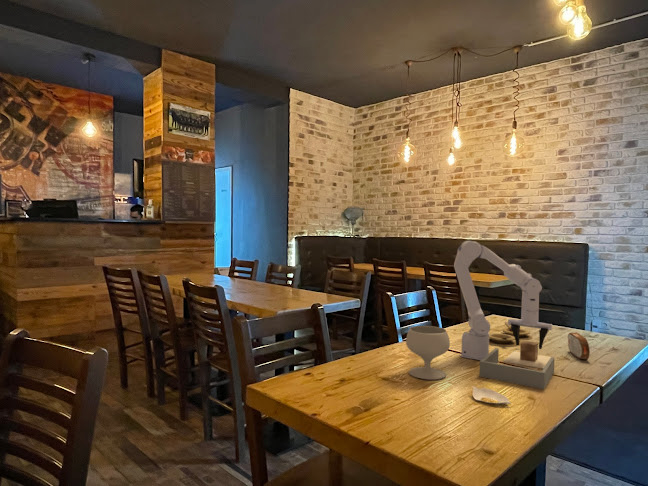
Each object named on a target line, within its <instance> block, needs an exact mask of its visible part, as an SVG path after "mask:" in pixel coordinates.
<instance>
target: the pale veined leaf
mask: <svg viewBox="0 0 648 486" xmlns="http://www.w3.org/2000/svg"><path fill="white" fill-rule="evenodd" d="M471 387H472V397H473V398H474V399H475V400H476V401H479V402H484V403H485V401H484V400H482V398H486V399H490V400H494V401H496V402H493V404H496V405H497V404H498V405H499V404H504V405H505V404H506V405H508V404H509V405H511V404H512V403H511V402H510V401H509V398H508V397H507V396H506V395H503V394H501V393H500V392H497V391H495V390H492V389H490V388H485V387H481V388H478V387H475V386H473V385H471ZM487 403H488V404H492V402H491V401H490V402H489V401H486V404H487Z"/></svg>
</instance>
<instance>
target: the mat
mask: <svg viewBox="0 0 648 486" xmlns="http://www.w3.org/2000/svg"><path fill="white" fill-rule="evenodd" d="M551 357H552V356H548V355H540V354H538V359H537V360H536V362H532V361H526V360H520V351H518V350H516V351H515V350H513V351H512V352H511V353H510V354H509V355H508V356H507V357H506V358H505V359H504V360H503V362H504V363H507V364H513V365H514V364H515V365H519V366H525V367H531V368H537V369H541V370H543V368H544V367H545V365H546V364H547V362H548V361H549V359H550V358H551Z"/></svg>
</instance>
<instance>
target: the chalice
mask: <svg viewBox="0 0 648 486" xmlns="http://www.w3.org/2000/svg"><path fill="white" fill-rule="evenodd" d="M405 343H406V347H407V349H408V350H409V351H410V352H412V353H413V354H415V355H416V356H418V357H420V358H421V360H423V362H424V366H418V367H412V368H410V369H409V370H408V374H409V375H410V376H412V377H414V378H417V379H422V380H430V381H431V380H433V381H435V380H436V381H437V380H442V379H444V378H446V376H447V373H446V372H445V371H443V370H441V369H439V368H436V367H432V366H431V362H432V361H433V360H434V359H435V358H437V357H440V356H442V355H443V354H446V353H447V352H448V351H449V349H450V346H451V344H450V343H451V342H450V336H449V334H448V331H447V330H446V329H445V328H444V327H439V326H435V325H414V326H411V327H410V328H409V329H408V331H407V334H406V339H405Z"/></svg>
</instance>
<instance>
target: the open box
mask: <svg viewBox="0 0 648 486" xmlns="http://www.w3.org/2000/svg"><path fill="white" fill-rule="evenodd" d="M499 348H500V347H499ZM499 348H497V347H495V348H494V349H492V350H491V351H489V354H488V355H487V356H486V357H484V358H483V359H482V360H479V377H481V378H486V379H491V380H495V381H502V382H507V383H511V384H516V385H520V386H527V387H530V388H536V389H539V390H540V389H541V390H545V389H546V387H547V386H548V383H549V382H550V380H551V379H552V377H553V375H554V373H555V356H550V357H551V358H550V359H549V361H548V362H547V364H546V365H545V367H544V368H543V369H541V371H540V370H536V369H530V368H524V367H519V366H512V365H507V364H504V363H503V364H501V363H499V356H500V355H499V353H500V352H499Z"/></svg>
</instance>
